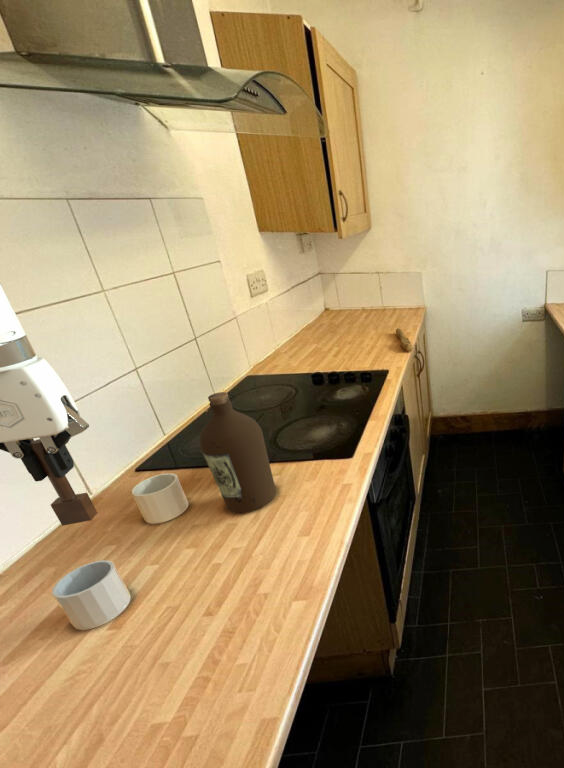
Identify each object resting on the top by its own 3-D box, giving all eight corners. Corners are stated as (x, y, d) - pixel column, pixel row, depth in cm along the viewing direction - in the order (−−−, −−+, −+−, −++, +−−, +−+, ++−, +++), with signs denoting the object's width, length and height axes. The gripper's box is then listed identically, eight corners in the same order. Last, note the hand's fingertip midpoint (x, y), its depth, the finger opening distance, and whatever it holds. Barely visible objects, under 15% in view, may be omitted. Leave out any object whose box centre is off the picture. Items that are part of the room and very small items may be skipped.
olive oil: (255, 480, 96) (223, 381, 86) (290, 489, 93) (261, 387, 83) (211, 509, 87) (169, 403, 77) (249, 521, 84) (210, 411, 74)
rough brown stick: (401, 327, 201) (412, 345, 175) (402, 333, 202) (413, 352, 177) (395, 328, 200) (405, 346, 174) (395, 334, 201) (405, 353, 176)
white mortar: (63, 636, 62) (40, 603, 59) (87, 598, 68) (68, 567, 65) (119, 621, 64) (100, 589, 61) (138, 586, 70) (121, 555, 67)
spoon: (62, 526, 63) (16, 447, 57) (69, 518, 64) (25, 440, 59) (91, 520, 64) (49, 442, 58) (98, 512, 65) (57, 436, 60)
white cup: (138, 527, 82) (124, 499, 80) (153, 504, 89) (141, 477, 86) (181, 518, 85) (170, 490, 82) (193, 496, 91) (182, 470, 88)
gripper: (-125, 374, 48) (-37, 502, 55) (49, 357, 52) (108, 477, 60) (-67, 353, 54) (4, 470, 62) (83, 340, 59) (133, 450, 66)
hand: (55, 473), depth 61 cm, fingers closed on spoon, 1 cm apart
